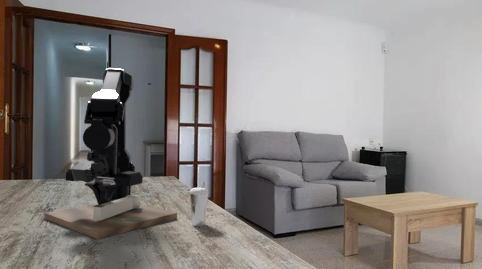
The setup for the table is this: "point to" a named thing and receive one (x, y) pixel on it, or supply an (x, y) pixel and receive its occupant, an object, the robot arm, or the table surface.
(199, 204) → the milkshake
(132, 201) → the peg lever
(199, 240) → the table surface
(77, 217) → the plate
